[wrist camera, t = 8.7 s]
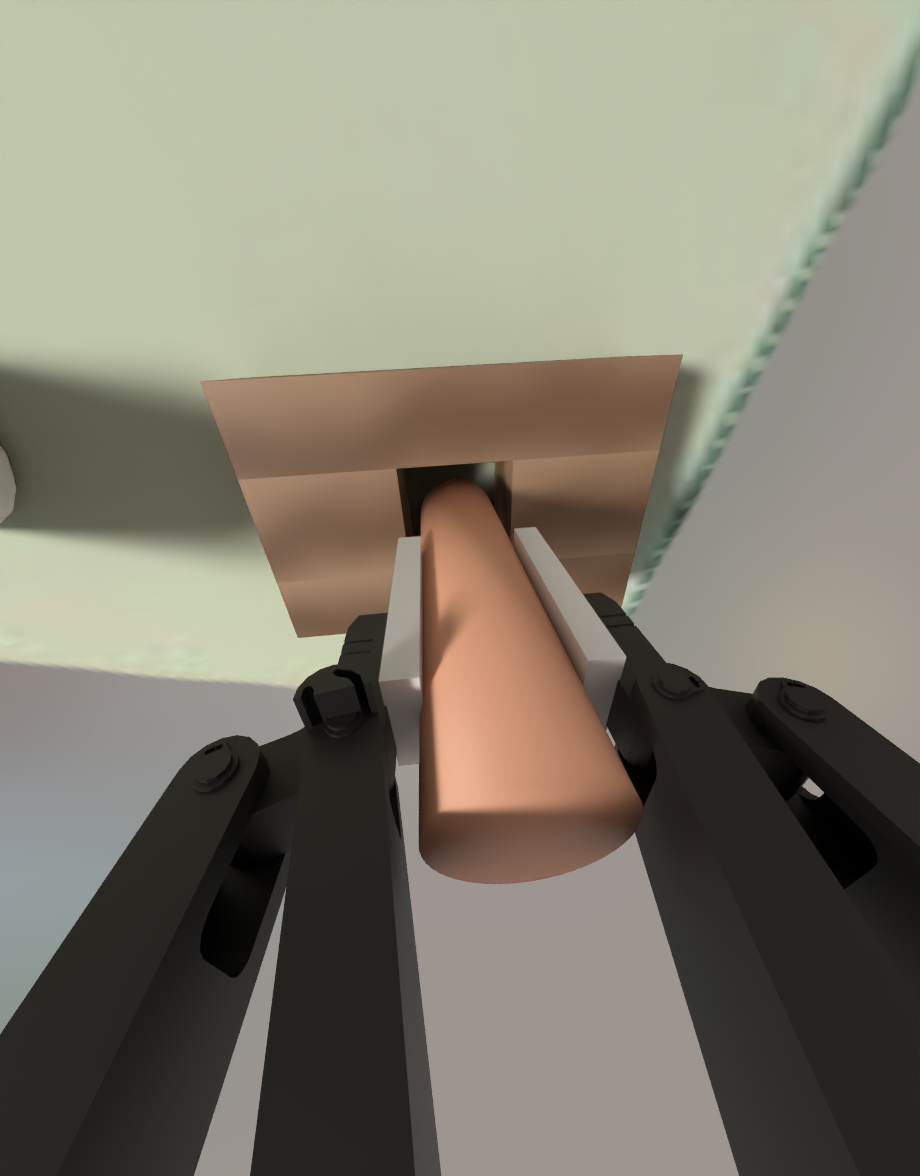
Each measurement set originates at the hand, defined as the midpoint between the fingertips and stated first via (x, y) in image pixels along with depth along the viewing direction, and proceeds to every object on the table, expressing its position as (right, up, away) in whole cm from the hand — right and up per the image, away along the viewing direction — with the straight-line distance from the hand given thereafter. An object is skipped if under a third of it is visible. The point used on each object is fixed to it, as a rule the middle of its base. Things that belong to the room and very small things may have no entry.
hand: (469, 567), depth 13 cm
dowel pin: (-1, +3, +5) cm, 5 cm away
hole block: (-1, +5, +7) cm, 9 cm away
